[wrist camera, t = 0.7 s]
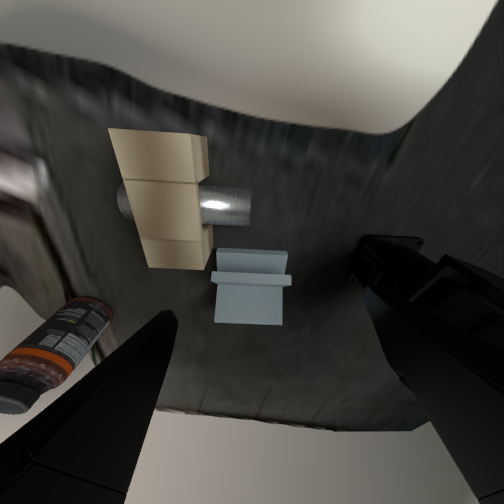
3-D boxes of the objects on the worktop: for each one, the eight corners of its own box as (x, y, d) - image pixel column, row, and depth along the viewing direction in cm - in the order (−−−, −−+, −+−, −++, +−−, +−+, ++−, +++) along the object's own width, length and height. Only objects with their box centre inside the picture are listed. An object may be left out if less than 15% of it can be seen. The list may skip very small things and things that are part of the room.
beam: (206, 137, 15) (189, 133, 11) (213, 245, 20) (203, 270, 16) (146, 132, 15) (107, 128, 11) (169, 243, 20) (148, 267, 16)
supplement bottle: (84, 323, 28) (-8, 419, 18) (62, 294, 25) (-63, 392, 15) (122, 322, 28) (51, 419, 18) (104, 293, 24) (7, 391, 15)
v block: (286, 251, 21) (293, 274, 17) (276, 305, 25) (280, 332, 22) (217, 247, 21) (210, 270, 17) (220, 302, 25) (214, 329, 22)
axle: (251, 183, 17) (251, 195, 14) (249, 217, 19) (249, 233, 16) (134, 176, 17) (110, 187, 14) (145, 211, 19) (126, 226, 16)
